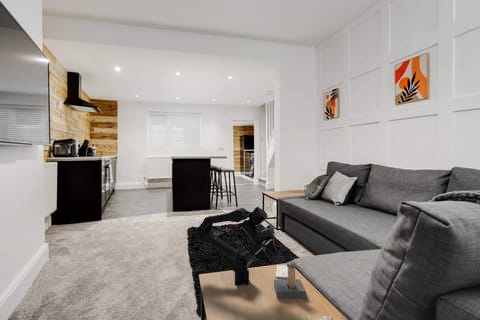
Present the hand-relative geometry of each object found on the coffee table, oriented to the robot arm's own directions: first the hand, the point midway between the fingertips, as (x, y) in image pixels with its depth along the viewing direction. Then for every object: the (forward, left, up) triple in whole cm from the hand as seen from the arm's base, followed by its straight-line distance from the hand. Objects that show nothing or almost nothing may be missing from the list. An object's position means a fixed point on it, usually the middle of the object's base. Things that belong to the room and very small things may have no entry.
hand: (274, 259), depth 108 cm
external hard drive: (+7, +16, -14) cm, 22 cm away
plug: (+7, -3, -13) cm, 15 cm away
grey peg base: (+6, -2, -13) cm, 15 cm away
